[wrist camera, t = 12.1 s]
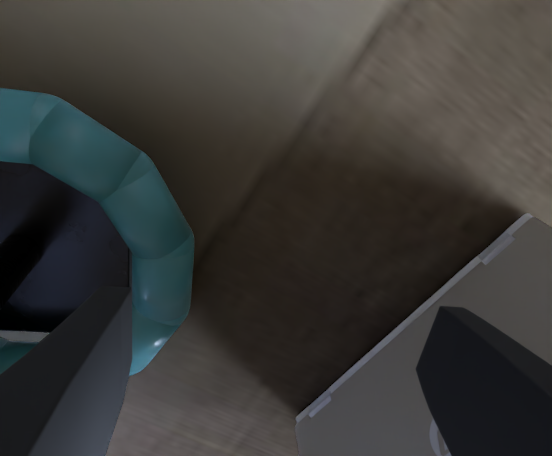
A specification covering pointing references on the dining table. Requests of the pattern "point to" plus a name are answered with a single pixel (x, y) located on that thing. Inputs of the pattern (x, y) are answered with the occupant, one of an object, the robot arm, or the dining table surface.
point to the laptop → (409, 345)
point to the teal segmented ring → (108, 209)
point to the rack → (52, 249)
